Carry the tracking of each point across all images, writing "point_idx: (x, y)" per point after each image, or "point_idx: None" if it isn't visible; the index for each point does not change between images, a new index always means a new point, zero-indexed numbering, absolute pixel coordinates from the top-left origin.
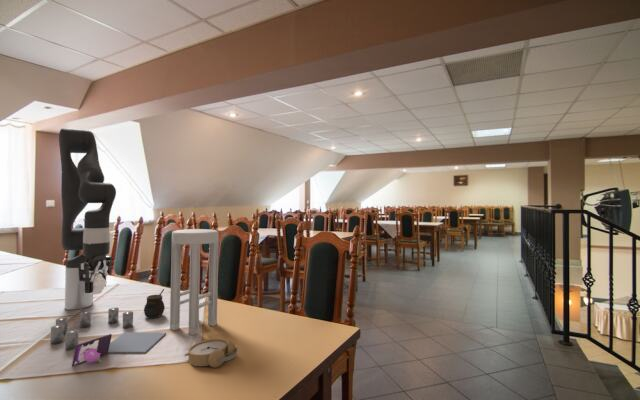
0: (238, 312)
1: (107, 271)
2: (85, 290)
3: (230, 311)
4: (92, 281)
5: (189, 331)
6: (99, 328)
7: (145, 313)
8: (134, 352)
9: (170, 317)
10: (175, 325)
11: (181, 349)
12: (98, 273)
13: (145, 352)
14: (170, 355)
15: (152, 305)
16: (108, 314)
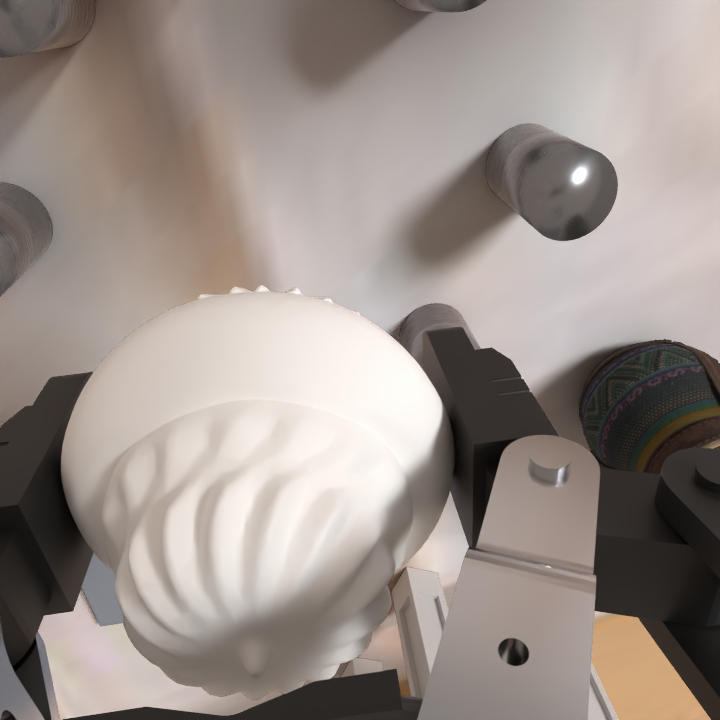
0: (635, 708)
1: (645, 604)
2: (12, 433)
3: (656, 680)
4: (64, 603)
5: (351, 673)
6: (384, 144)
7: (601, 379)
8: (83, 588)
9: (417, 629)
10: (401, 613)
11: (186, 702)
12: (291, 678)
13: (104, 621)
14: (121, 697)
15: (623, 465)
16: (528, 153)
